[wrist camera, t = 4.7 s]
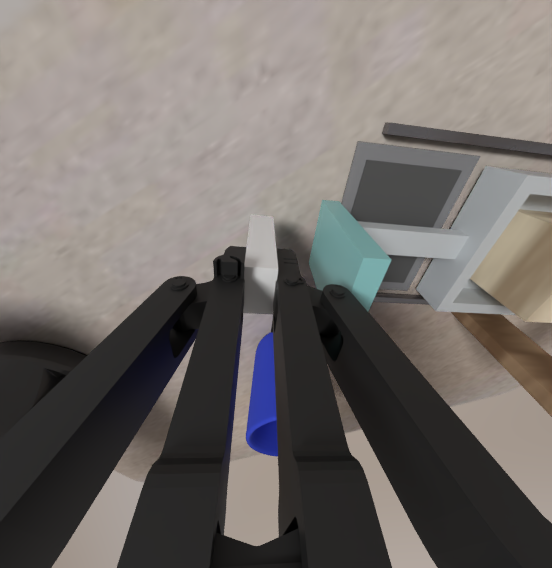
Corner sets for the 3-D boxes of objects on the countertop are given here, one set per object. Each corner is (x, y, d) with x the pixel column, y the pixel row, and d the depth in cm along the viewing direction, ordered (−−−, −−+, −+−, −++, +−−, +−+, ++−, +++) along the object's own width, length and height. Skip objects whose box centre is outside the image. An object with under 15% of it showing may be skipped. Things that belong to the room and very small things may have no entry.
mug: (326, 288, 23) (361, 382, 15) (317, 363, 30) (337, 454, 22) (243, 293, 23) (232, 390, 15) (253, 367, 30) (250, 460, 22)
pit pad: (319, 284, 23) (320, 286, 22) (357, 141, 16) (359, 141, 15) (406, 289, 24) (408, 291, 23) (478, 156, 17) (481, 156, 16)
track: (330, 298, 24) (333, 306, 23) (387, 114, 15) (396, 114, 14) (584, 311, 27) (596, 318, 26) (756, 165, 18) (784, 167, 17)
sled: (300, 282, 22) (321, 373, 14) (327, 146, 15) (392, 178, 8) (558, 297, 24) (693, 380, 17) (671, 187, 18) (973, 240, 10)
